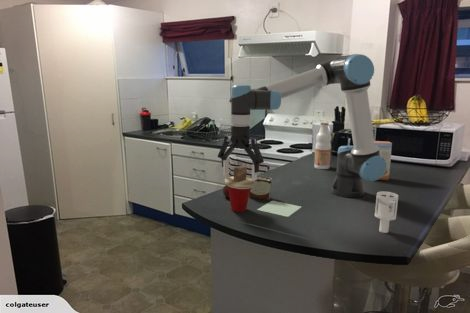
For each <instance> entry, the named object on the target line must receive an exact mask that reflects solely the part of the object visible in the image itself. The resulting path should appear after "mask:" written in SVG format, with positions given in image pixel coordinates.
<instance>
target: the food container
mask: <svg viewBox="0 0 470 313" xmlns="http://www.w3.org/2000/svg"><path fill="white" fill-rule="evenodd" d="M248 177H249V178H252V175H249V176H248ZM272 185H274V181H273V178H272V177H270V176H267V175H263V174H262V175H259V174H257V180H255V184H254V185H253V187H252V188H251V190H250V193H249V198H251V199H260V200H267V201H269V200H270V199H271V198H270V197H271V191H272ZM249 198H248V199H249Z"/></svg>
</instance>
